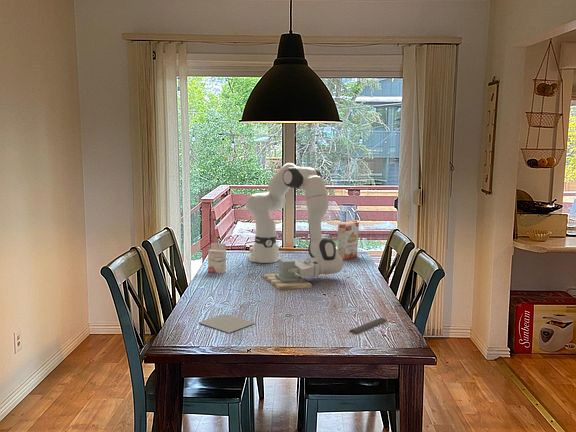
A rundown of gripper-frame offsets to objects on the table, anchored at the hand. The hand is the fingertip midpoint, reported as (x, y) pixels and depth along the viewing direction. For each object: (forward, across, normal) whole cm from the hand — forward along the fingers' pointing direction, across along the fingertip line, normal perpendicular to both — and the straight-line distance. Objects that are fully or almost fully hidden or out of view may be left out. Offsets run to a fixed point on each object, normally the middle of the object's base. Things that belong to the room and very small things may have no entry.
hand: (285, 268), depth 272 cm
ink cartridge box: (+27, -30, +7) cm, 41 cm away
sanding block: (-1, 0, +5) cm, 5 cm away
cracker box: (-54, -42, +7) cm, 68 cm away
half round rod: (-9, +69, +7) cm, 70 cm away
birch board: (-1, 0, +7) cm, 7 cm away
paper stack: (+35, +52, +7) cm, 63 cm away
